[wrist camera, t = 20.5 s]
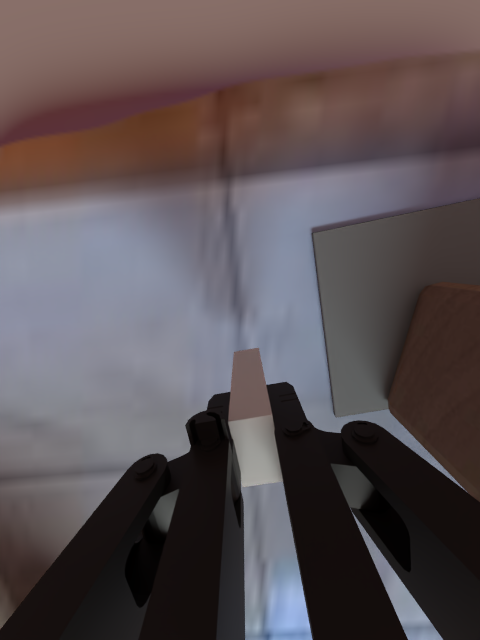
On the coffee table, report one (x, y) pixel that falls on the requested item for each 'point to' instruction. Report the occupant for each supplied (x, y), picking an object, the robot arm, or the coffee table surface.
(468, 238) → the mat
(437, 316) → the block
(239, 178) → the coffee table surface
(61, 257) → the coffee table surface
